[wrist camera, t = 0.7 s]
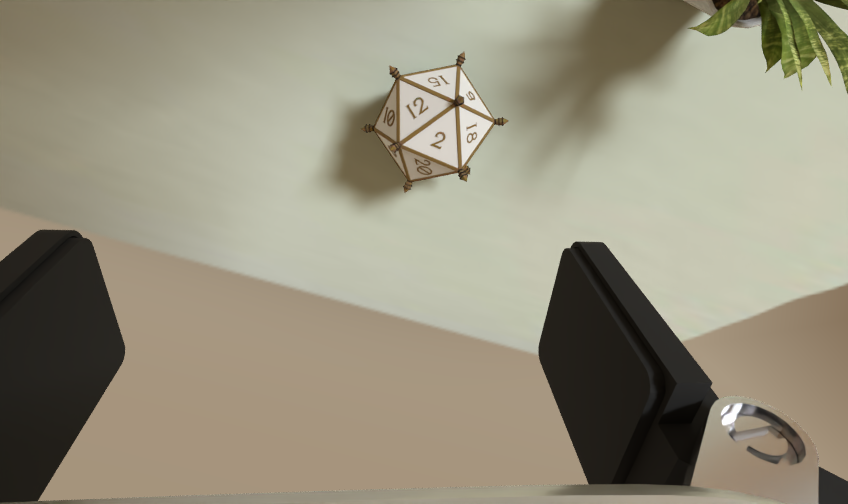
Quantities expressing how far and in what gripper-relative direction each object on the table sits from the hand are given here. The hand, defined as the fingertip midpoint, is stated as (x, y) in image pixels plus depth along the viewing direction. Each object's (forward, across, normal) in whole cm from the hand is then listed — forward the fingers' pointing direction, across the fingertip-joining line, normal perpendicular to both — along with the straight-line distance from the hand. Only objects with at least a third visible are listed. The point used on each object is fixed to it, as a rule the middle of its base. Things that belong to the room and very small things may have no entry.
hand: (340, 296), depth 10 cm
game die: (+28, -5, +4) cm, 29 cm away
